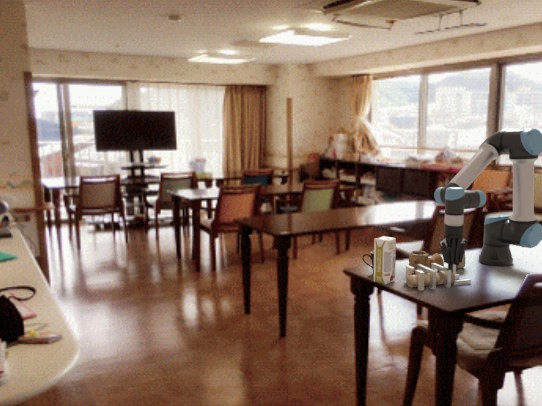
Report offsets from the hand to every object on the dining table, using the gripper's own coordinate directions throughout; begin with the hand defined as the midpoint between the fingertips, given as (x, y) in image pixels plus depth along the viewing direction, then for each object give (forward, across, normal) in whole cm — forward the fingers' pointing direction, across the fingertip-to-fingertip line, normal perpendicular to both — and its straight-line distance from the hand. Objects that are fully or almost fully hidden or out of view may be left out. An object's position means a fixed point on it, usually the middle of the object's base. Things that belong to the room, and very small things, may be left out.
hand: (452, 279), depth 208 cm
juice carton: (+1, +26, -10) cm, 28 cm away
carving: (+2, -16, -19) cm, 25 cm away
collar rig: (+1, +6, 0) cm, 7 cm away
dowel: (+1, +11, 0) cm, 11 cm away
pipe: (+2, +2, -16) cm, 16 cm away
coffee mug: (+1, +24, -22) cm, 32 cm away
